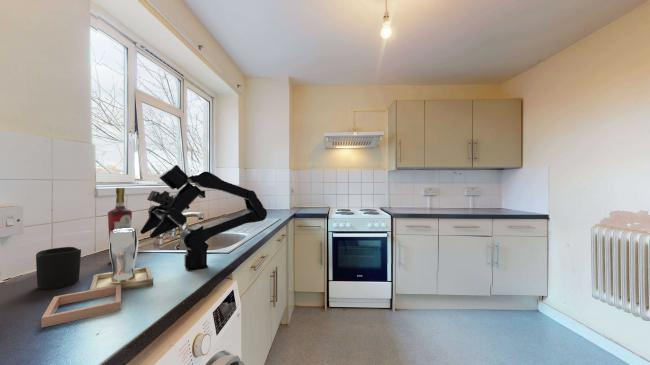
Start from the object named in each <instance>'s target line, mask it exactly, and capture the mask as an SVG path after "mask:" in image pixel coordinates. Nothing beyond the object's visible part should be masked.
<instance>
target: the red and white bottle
mask: <svg viewBox="0 0 650 365" xmlns="http://www.w3.org/2000/svg"><path fill="white" fill-rule="evenodd" d="M115 194H116V199H115V208H112V209H111V210H110V211H108V212H107V220H108V221H107V222H108V223H107V226H108V227H107V228H108V240H109V241H110V231H113V230H118V229H132V219H133V218H132V216H133V211H132V210H131V209H128V208H126V204H125V202H126V201H125V195H126V187H116V188H115ZM109 241H108V242H109ZM109 253H110V251H109ZM107 260H108V262H110V263H111V264H112V262H111V257H110V256H109V257H108V259H107Z"/></svg>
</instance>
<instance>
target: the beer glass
mask: <svg viewBox="0 0 650 365" xmlns="http://www.w3.org/2000/svg"><path fill="white" fill-rule="evenodd" d="M108 244H109V245H108V247H109V248H108V250H109V251H110V252H109V257H111V262H112V263H111V262H110V263H111V266H112V272H113V273H112V278H111V283H112V284H119V283H124V282H130V281H133V280H135V279H136V274H135V269H136V268H135V266H136V260H137V255H138V251H139V250H138V249H139V232H138V228H131V229H118V230H113V231H110V241H108Z"/></svg>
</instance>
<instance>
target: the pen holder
mask: <svg viewBox="0 0 650 365" xmlns="http://www.w3.org/2000/svg"><path fill="white" fill-rule="evenodd" d="M81 259H82V249H79V248H77V247H75V246H62V247H54V248H49V249H43V250H39V251H37V253H36V255H35V263H36V264H35V266H36V268H35V269H36V283H37V286H36V287H37V288H38V289H39V290H45V291H46V290H47V291H49V290H56V289H61V288H65V287H70V286H72V285H75V284H77V283H78V282H79V280H80V271H81Z"/></svg>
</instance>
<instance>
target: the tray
mask: <svg viewBox="0 0 650 365" xmlns="http://www.w3.org/2000/svg"><path fill="white" fill-rule="evenodd" d="M112 273H113V271H112V272H110V271H109V272H104V273H98V274H97V273H96V274H93V278H92V281H91V285H90V288H89V290H94V289H100V288H105V287H111V286H117V285H121V292H126V291H130V290H136V289H142V288H146V287H150V286H151V287H153V286H154V277H153V274H152V271H151V267H150V266H145V267H136V268H135V274H136V279H135V280H133V281H130V282H124V283H119V284H112V283H111V278H112Z"/></svg>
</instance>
